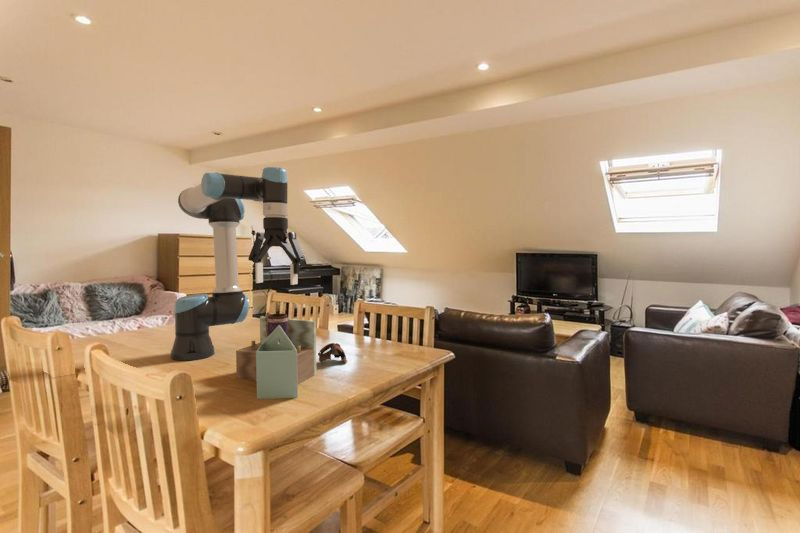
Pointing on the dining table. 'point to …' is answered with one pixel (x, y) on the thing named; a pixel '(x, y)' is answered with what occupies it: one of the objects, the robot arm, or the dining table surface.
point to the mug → (276, 323)
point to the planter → (276, 367)
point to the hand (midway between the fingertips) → (276, 283)
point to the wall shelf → (301, 338)
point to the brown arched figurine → (332, 352)
